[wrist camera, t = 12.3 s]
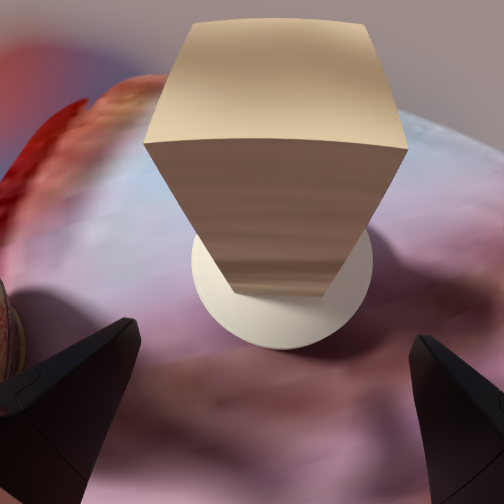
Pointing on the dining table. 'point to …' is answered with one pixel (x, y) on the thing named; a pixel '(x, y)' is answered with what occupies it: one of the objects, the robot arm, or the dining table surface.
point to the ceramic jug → (10, 339)
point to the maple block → (277, 147)
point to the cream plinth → (284, 302)
